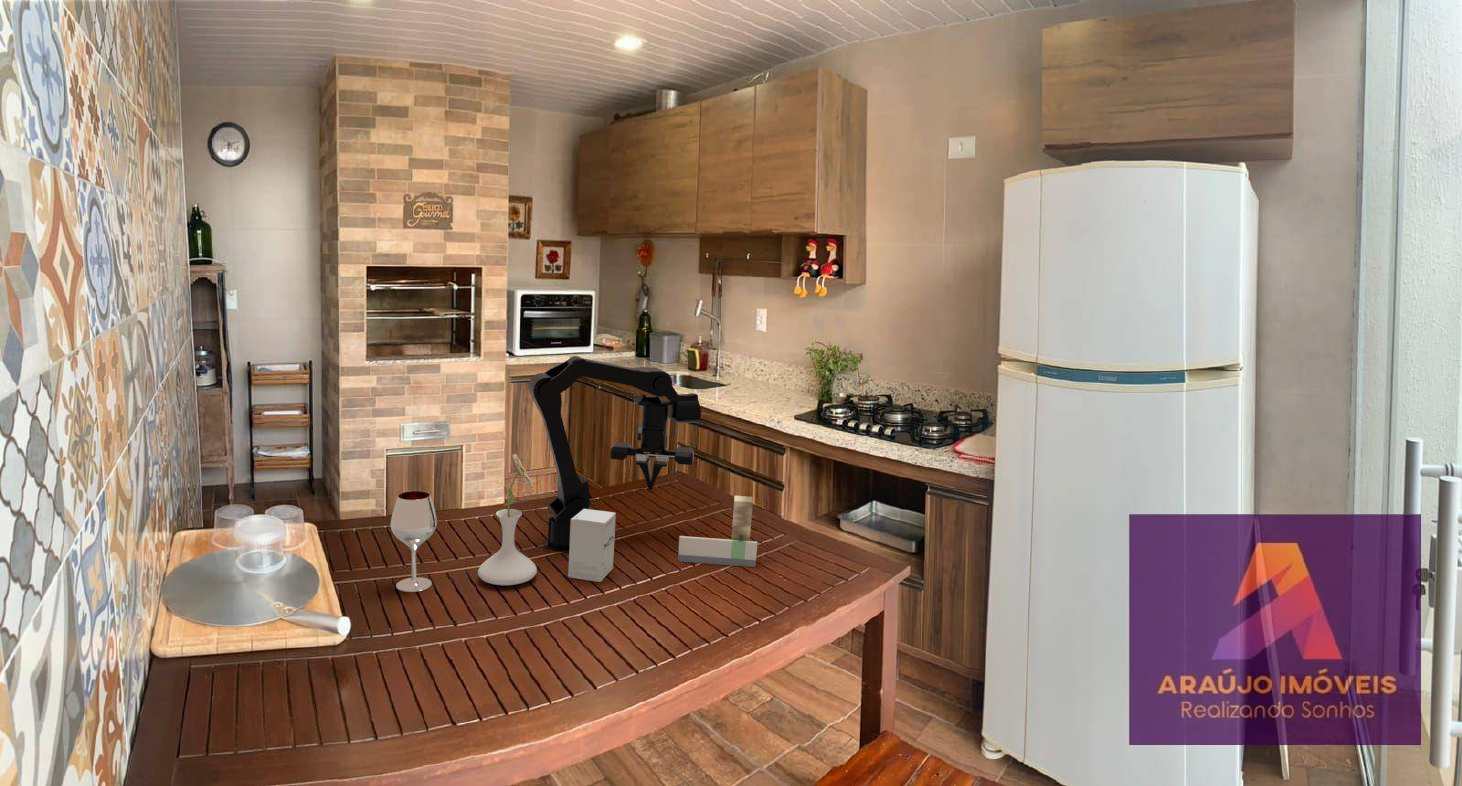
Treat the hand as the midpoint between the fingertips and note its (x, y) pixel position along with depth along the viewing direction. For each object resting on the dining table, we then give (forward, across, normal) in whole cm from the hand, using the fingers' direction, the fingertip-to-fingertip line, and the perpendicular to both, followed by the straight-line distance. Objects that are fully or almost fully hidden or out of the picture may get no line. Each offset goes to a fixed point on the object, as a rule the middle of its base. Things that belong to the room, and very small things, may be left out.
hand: (650, 489), depth 186 cm
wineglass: (+12, +41, +34) cm, 55 cm away
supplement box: (+12, +9, +22) cm, 27 cm away
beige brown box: (+10, -21, +9) cm, 25 cm away
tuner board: (+12, -16, +8) cm, 22 cm away
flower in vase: (+12, +25, +27) cm, 39 cm away
